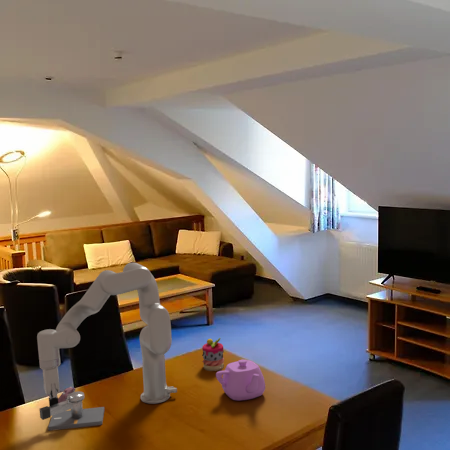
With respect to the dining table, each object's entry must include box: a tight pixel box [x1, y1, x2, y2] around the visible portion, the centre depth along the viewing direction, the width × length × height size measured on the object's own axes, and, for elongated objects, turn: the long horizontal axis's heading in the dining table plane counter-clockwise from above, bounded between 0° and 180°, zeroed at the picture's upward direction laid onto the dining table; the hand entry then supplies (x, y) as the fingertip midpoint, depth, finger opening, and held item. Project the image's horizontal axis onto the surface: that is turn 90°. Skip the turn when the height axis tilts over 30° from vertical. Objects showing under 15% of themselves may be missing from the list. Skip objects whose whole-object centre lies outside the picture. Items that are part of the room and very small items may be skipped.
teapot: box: [215, 358, 266, 401], centre depth 214 cm, size 23×21×15 cm
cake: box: [201, 337, 225, 372], centre depth 248 cm, size 10×10×15 cm
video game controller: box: [58, 386, 76, 403], centre depth 217 cm, size 10×5×7 cm, turn 169°
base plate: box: [47, 406, 105, 431], centre depth 200 cm, size 20×12×2 cm, turn 99°
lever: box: [39, 390, 85, 421], centre depth 196 cm, size 17×6×9 cm, turn 131°
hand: (54, 407), depth 197 cm, fingers closed
